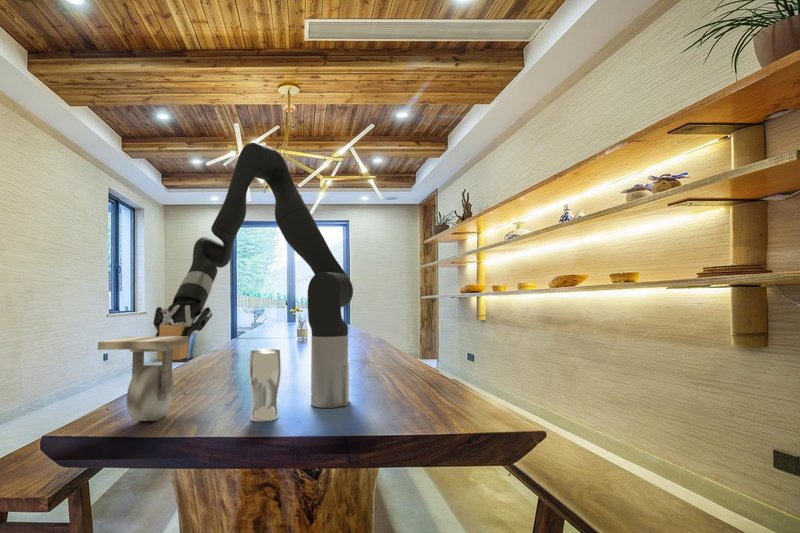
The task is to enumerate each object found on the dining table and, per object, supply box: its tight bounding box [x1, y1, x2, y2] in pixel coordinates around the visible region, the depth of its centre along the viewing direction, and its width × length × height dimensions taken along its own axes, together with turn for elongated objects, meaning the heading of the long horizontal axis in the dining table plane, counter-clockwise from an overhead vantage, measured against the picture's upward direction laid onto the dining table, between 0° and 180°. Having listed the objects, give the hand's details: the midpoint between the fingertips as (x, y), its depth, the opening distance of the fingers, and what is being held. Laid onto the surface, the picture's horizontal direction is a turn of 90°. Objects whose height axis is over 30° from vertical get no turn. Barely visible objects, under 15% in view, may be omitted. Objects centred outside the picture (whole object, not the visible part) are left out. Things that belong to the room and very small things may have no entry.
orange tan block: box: [158, 324, 190, 361], centre depth 107 cm, size 5×4×8 cm
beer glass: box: [248, 348, 282, 423], centre depth 98 cm, size 7×7×15 cm
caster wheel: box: [97, 336, 190, 422], centre depth 97 cm, size 14×14×18 cm
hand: (170, 341), depth 105 cm, fingers closed on orange tan block, 5 cm apart
